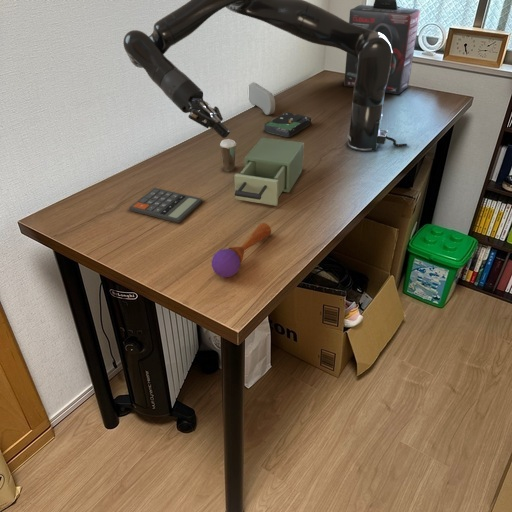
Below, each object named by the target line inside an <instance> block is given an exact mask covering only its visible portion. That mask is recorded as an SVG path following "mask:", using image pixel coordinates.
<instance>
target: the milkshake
mask: <svg viewBox="0 0 512 512" xmlns="http://www.w3.org/2000/svg"><path fill="white" fill-rule="evenodd" d="M238 140H239V138H237V140H236V141H235V140H233V139H231V138H223V140H221V141H220V143H219V147H220V153H221V158H222V166H223V171H224V172H225V173H226V172H227V173H230V172H231V173H232V172H234V171H235V170H236V148H237V141H238Z"/></svg>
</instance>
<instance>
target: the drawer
mask: <svg viewBox="0 0 512 512" xmlns="http://www.w3.org/2000/svg"><path fill="white" fill-rule="evenodd" d="M233 179H234V198H235V200H240V201H245V202H252V203H258V204H265V205H268V206H269V205H270V206H276V207H277V206H278V204H279V197H280V196H281V195H282V193H283V192H282V191H283V189H284V188H285V186H286V182H287V166H284V165H277V164H270V163H263V162H256V161H250V162H249V163H248V164H247V165H246V167H245V166H244V167H243V169H242V170H241V171H240V173H235V174H234V178H233Z"/></svg>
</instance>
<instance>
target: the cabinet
mask: <svg viewBox="0 0 512 512" xmlns="http://www.w3.org/2000/svg"><path fill="white" fill-rule="evenodd" d="M304 145H305V143H304V142H299V141H291V140H283V139H277V138H267V137H261V138H260V139H259V140H258V141H257V143H255V145H254V146H253V147H252V149H250V150H249V152H248V153H247V154H246V155H245V157H244V168H245V167H246V165H247V164H248V163H249V162H250V161H256V162H263V163H270V164H277V165H284V166H287V182H286V186H285V188H284V189H283V191H282V193H283V192H284V193H290V192H291V190H292V189H293V187H294V185H295V184H296V182H297V180H298V179H299V177H300V175H301V174H302V172H303V167H304V149H305V148H304V147H305V146H304Z"/></svg>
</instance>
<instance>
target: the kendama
mask: <svg viewBox="0 0 512 512" xmlns="http://www.w3.org/2000/svg"><path fill="white" fill-rule="evenodd" d="M271 234H272V228H271V227H270V225H269V224H268V223H265V222H262V223H260V224H258V226H257V227H256V228H255V229H254V231H252V233H251V234H250V235H249V236H248V237H247V239H246V240H245V241H244V242H243V244H242V245H240V246H231V247H228V248H222V249H220V250H218V251H217V252H215V253H214V254H213V256H212V259H211V268H212V270H213V272H214V273H215V274H216V275H218V276H219V277H221V278H230V277H231V278H232V277H233V276H234V275H235V274H237V273H238V272H239V269H240V267H241V264H242V262H243V259H244V255H245V251H246V250H248V249H249V248H251V247H252V246H254V245H256V244H257V243H259V242H260V241H262V240H264V239H265V238H267V237H268V236H270V235H271Z"/></svg>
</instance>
